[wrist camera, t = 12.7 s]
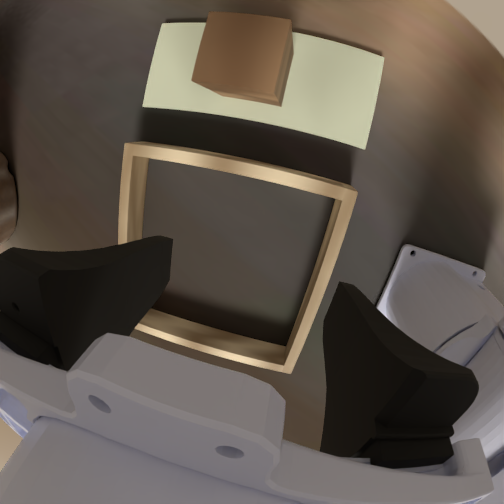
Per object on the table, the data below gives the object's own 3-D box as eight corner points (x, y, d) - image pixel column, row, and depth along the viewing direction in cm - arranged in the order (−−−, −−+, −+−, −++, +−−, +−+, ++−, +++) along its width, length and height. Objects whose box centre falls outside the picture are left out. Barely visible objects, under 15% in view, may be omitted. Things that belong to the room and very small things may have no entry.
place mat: (382, 59, 15) (384, 57, 14) (363, 149, 17) (365, 149, 17) (165, 25, 16) (162, 23, 15) (145, 107, 18) (142, 106, 18)
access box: (350, 185, 19) (357, 191, 16) (291, 354, 25) (290, 373, 23) (142, 141, 19) (124, 142, 17) (133, 308, 26) (121, 323, 24)
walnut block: (293, 53, 15) (291, 19, 10) (281, 106, 17) (273, 92, 11) (234, 44, 15) (209, 11, 10) (222, 96, 17) (190, 80, 12)
